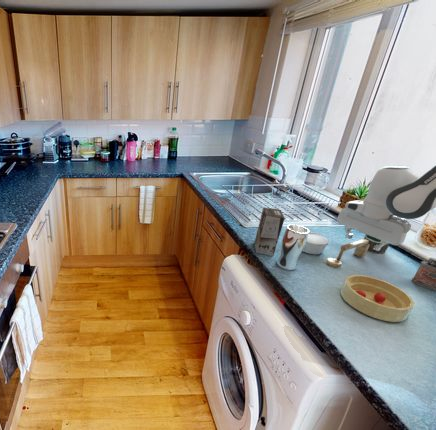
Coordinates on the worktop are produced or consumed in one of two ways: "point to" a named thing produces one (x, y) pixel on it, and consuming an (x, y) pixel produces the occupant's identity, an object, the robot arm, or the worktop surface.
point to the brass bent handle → (359, 251)
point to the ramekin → (315, 243)
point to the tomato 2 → (379, 297)
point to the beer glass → (292, 246)
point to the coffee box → (269, 231)
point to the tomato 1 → (361, 293)
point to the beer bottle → (373, 242)
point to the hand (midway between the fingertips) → (361, 243)
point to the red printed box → (426, 274)
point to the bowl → (393, 305)
